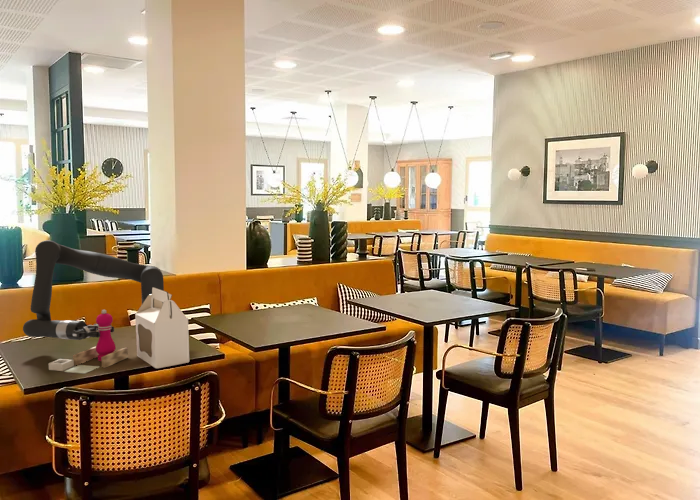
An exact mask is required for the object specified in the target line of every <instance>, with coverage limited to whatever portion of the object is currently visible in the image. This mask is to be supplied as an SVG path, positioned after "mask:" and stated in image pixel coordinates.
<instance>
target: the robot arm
mask: <svg viewBox="0 0 700 500" xmlns="http://www.w3.org/2000/svg"><path fill="white" fill-rule="evenodd" d="M35 263H36V265H35V278H34V284H33V289H32V294H31V295H32V296H31V301H30V311H31V313H34V314H35V315H36V319H29V320H27V321H26V322H25V323H24V324H23V326H22V331H23V333H24V334H25V336H27V337H31V338H45V337H46V338H53V339H56V338H57V339H63V340H64V339H65V340H75V341H77V340H78V341H81V340H86V339H87V338H88V339H90V338H98V339H99V337H100V332H99V330H98V326H99V325H98V324H97V323H94V324H93V325H92V324H87V323H86V322H85V321H83V320H73V319H72V320H70V319H69V320H68V319H67V320H66V319H65V320H58V319H56V320H55V319H54V320H53V319H52V317H51V310H50V308H51V302H52V297H53V296H52V294H53V293H52V292H53V276H54V271H55V267H56V264H59V265H65V266H69V267H73V268H76V269H77V270H78V269H79V270H81V271H83V272H86V273H89V274H92V275H97V276H101V277H105V278H114V279H127V280H131V281H134V282H137V283H140V289H141V291H140V292H141V305H142V304H143V302H144V301H145V299H146V298H147V296H148V295H150V294H152V288H153V287H155V288H158V289H161V290H163V291H165V288H164V275H163V272H162V270H161V269H160V268H159V267H157V266H154V265H147V264H140V263H134V262H131V261H127V260H125V259H122V258H119V257H115V256H112V255H109V254H106V253H101V252H95V251H91V250H82V249H75V248H71V247H69V246H66V245H62V244H60V243H57V242H55V241H54V240H49V239H47V240H46V239H45V240H43V241H40V242H39V243H38V244H37V245H36V247H35ZM162 303H164V302H162ZM111 327H112V329H111V331H110V332H111V333H114V332H115V327H114V326H111Z"/></svg>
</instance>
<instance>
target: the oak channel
mask: <svg viewBox="0 0 700 500" xmlns="http://www.w3.org/2000/svg"><path fill="white" fill-rule="evenodd" d="M128 351H129V349H128V347H122V348H119V349H117V350H115V351H114V352H112V353H110V354H108V355H105V356H103V357H101V360H102V361H101V368H102V367H103V368H108V367H111V366H112V365H114V364H116V363H117V364H118V363H119V362H121V361H123V360H125V359H128V358H129V352H128ZM98 355H99V354H98V353H97V352H96V345H95V346H93V347H90V348H88V349H84V350H82V351H80V352H78V353H75V354H73V355H72V360H74V366H76V365H77V366H78V365H82V364H83V363H87V362H89V361H91V360H93V358H94V359H96V358H98ZM86 361H87V362H86ZM81 363H82V364H81Z"/></svg>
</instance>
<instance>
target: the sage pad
mask: <svg viewBox="0 0 700 500" xmlns="http://www.w3.org/2000/svg"><path fill="white" fill-rule="evenodd" d="M96 368H97V369H99V368H100V366H99V365H84V364H79V365H77V366H76V365H74V366H73V367H71V368H69V369H66V370H64V371H63V372H64V373H69V374H70V373H72V374H84V375H86V374H88V373H90V372H92V371H95V370H97V369H96ZM94 369H95V370H94Z"/></svg>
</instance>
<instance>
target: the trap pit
mask: <svg viewBox="0 0 700 500" xmlns="http://www.w3.org/2000/svg"><path fill="white" fill-rule="evenodd" d="M73 367H75V365H74V360H73V359H69V358H68V359H67V358H58V359H56V360H54V361H51V362H49V363H48V371H58V372H59V371H60V372H64V371H66V370H68V369H71V368H73Z"/></svg>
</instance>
